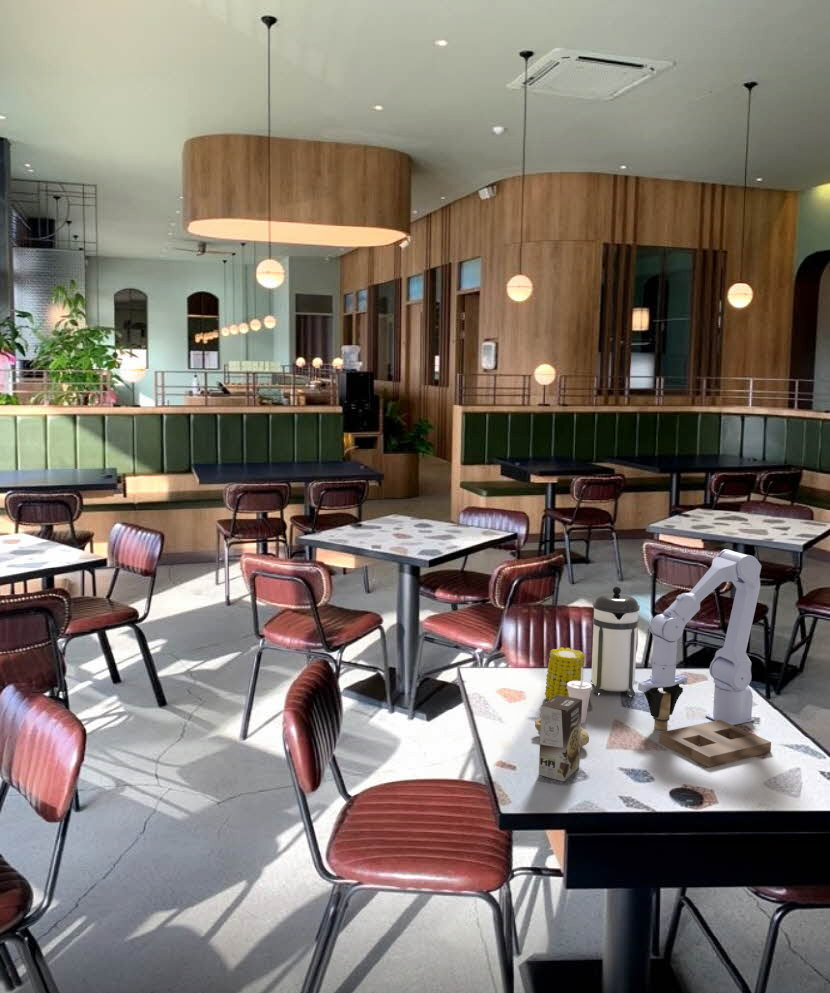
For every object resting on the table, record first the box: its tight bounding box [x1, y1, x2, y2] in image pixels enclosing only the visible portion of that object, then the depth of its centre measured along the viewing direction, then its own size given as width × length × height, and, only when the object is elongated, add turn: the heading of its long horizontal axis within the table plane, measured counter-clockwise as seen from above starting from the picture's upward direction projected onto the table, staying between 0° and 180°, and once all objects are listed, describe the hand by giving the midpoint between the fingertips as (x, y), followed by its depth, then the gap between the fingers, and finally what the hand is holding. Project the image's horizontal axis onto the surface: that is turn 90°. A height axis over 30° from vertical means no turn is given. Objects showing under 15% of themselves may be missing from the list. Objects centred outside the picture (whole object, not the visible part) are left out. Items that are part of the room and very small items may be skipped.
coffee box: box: [538, 695, 582, 782], centre depth 202 cm, size 9×6×16 cm
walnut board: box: [658, 720, 772, 768], centre depth 218 cm, size 20×16×2 cm
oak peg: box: [652, 690, 671, 731], centre depth 230 cm, size 4×4×9 cm
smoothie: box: [567, 667, 593, 724], centre depth 233 cm, size 6×6×14 cm
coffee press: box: [590, 586, 641, 698], centre depth 257 cm, size 17×16×30 cm
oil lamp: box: [534, 718, 590, 748], centre depth 219 cm, size 11×14×5 cm
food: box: [544, 646, 585, 701], centre depth 248 cm, size 15×12×10 cm
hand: (661, 715), depth 230 cm, fingers closed on oak peg, 4 cm apart
